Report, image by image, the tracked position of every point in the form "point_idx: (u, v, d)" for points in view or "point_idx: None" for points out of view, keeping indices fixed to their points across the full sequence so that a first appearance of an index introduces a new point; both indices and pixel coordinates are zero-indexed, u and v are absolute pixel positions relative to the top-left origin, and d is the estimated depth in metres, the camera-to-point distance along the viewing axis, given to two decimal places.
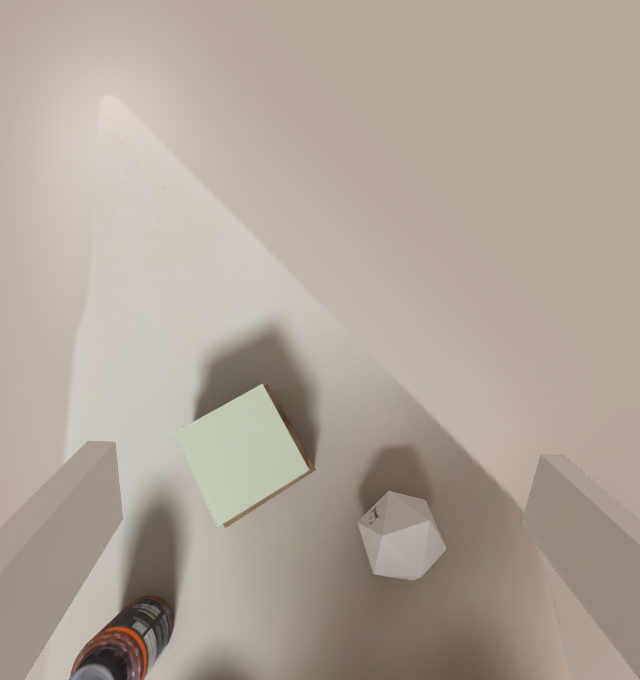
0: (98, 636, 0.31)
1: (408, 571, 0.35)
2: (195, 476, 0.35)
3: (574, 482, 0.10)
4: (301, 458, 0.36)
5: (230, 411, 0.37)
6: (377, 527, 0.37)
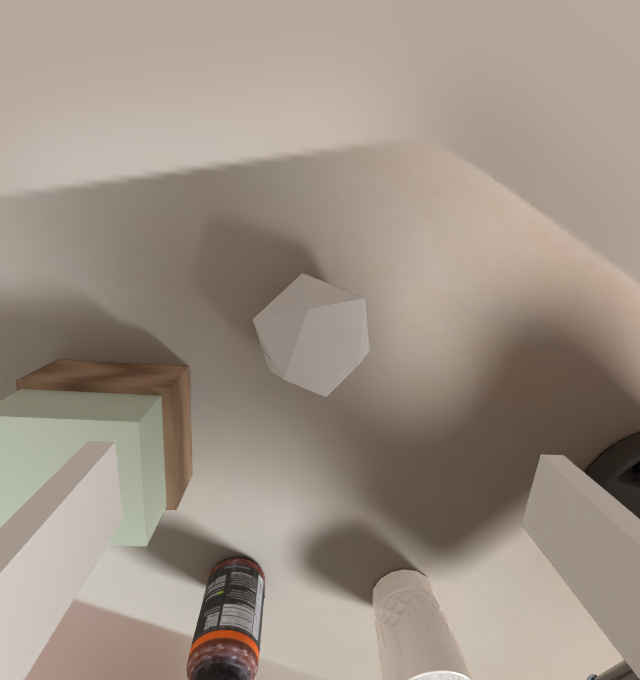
0: (187, 665, 0.30)
1: (343, 373, 0.25)
2: None
3: (574, 482, 0.10)
4: (116, 423, 0.23)
5: (1, 472, 0.24)
6: (276, 370, 0.25)
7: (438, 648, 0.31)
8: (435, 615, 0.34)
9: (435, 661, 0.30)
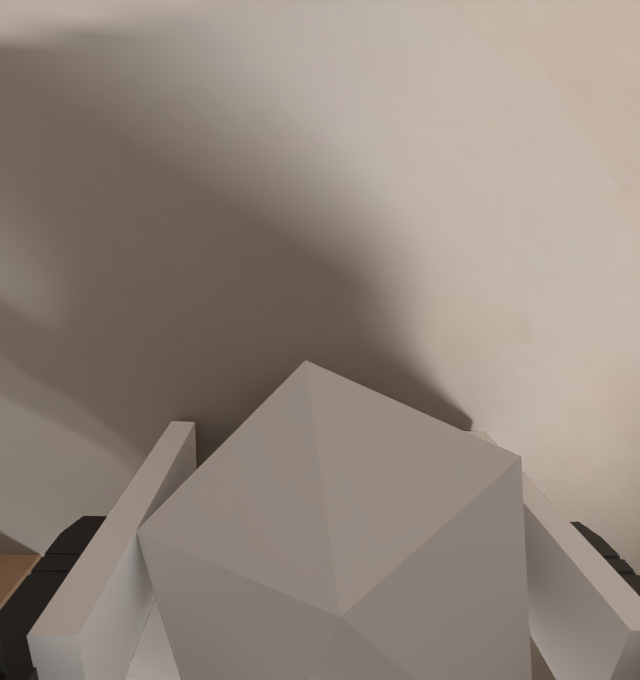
0: None
1: None
2: None
3: None
4: None
5: None
6: None
7: None
8: None
9: None
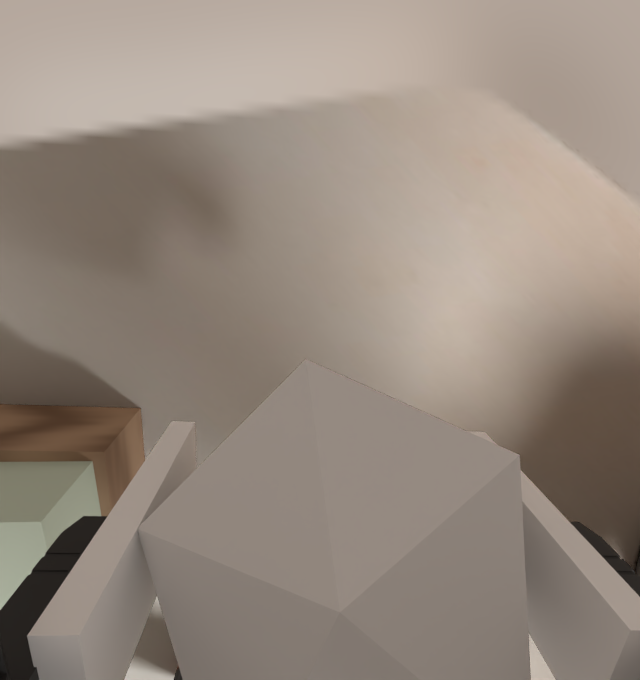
0: None
1: None
2: None
3: None
4: (6, 525, 0.15)
5: None
6: None
7: None
8: None
9: None
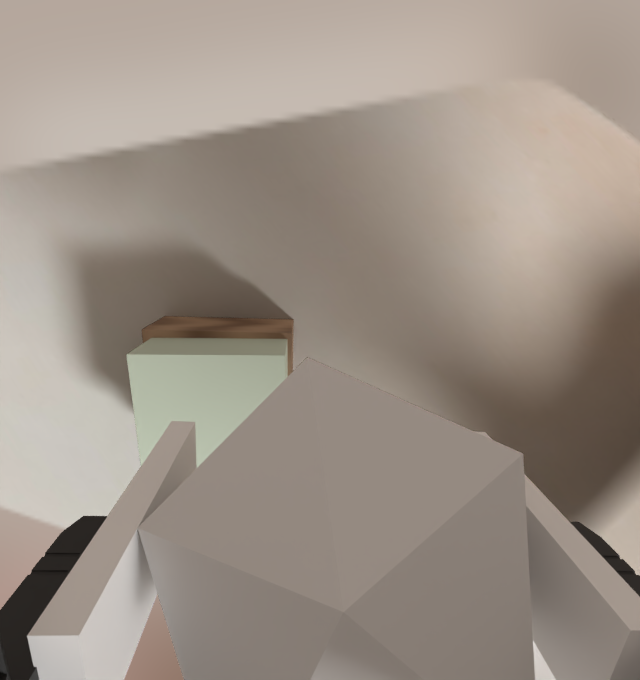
0: None
1: None
2: None
3: None
4: (263, 357, 0.23)
5: (149, 414, 0.24)
6: None
7: None
8: None
9: None
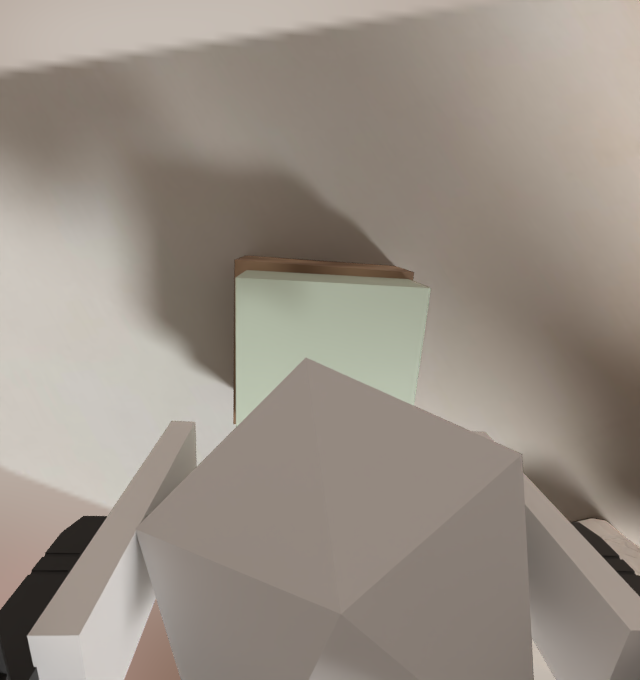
0: None
1: None
2: None
3: None
4: (404, 289, 0.19)
5: (254, 357, 0.19)
6: None
7: None
8: None
9: None
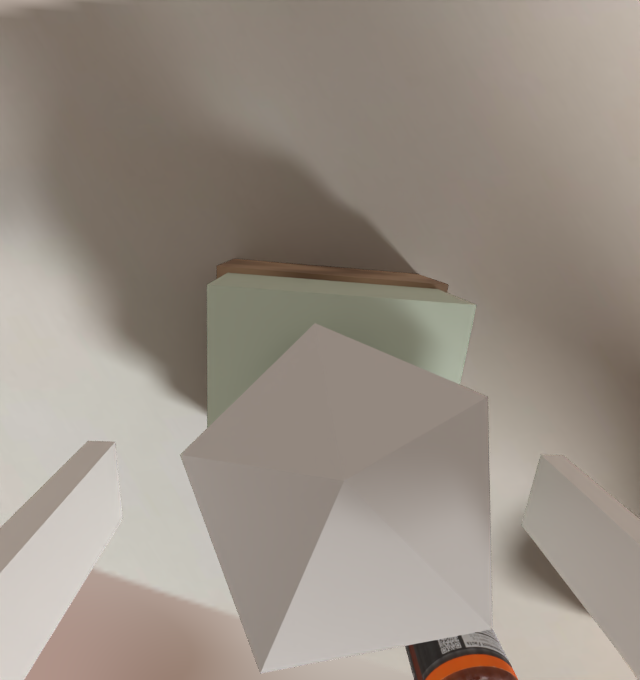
0: None
1: None
2: None
3: (574, 482, 0.10)
4: (441, 305, 0.14)
5: (233, 393, 0.14)
6: None
7: None
8: None
9: None
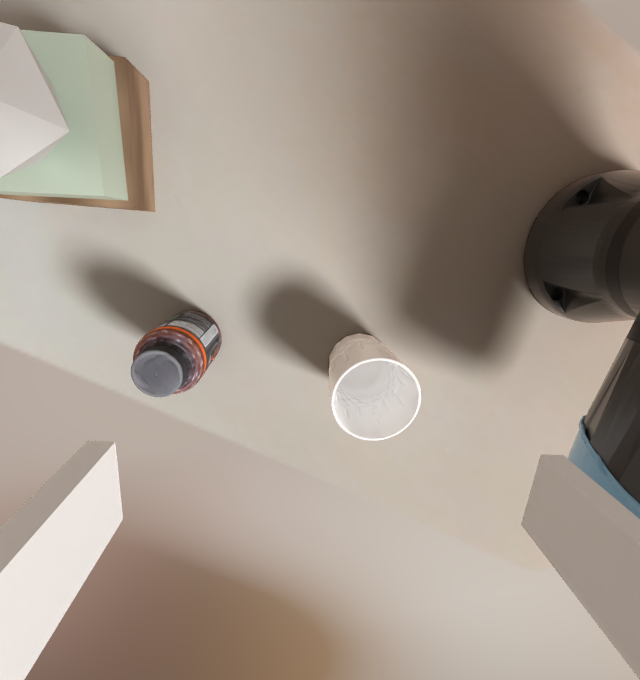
0: None
1: None
2: (30, 190, 0.26)
3: (573, 482, 0.10)
4: (63, 35, 0.24)
5: None
6: None
7: (382, 352, 0.32)
8: (383, 346, 0.35)
9: (377, 355, 0.31)
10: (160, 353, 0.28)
